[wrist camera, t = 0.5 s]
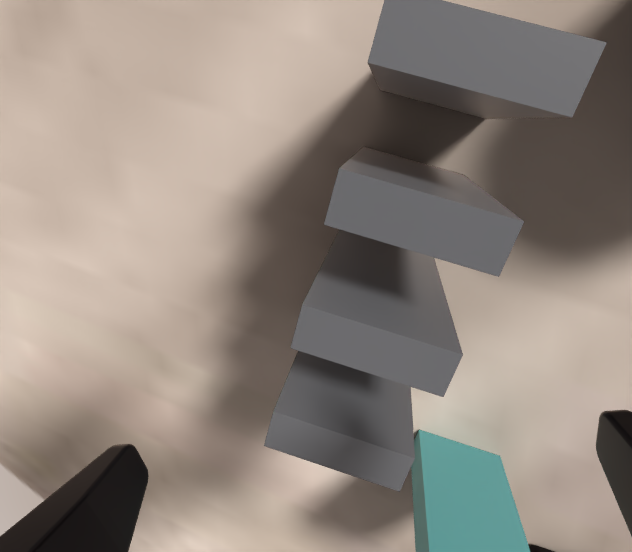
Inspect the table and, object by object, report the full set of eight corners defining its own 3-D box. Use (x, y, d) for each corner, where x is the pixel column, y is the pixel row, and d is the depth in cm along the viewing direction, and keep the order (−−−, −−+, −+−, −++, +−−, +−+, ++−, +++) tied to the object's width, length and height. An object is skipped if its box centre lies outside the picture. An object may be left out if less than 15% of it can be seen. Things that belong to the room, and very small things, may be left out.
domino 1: (485, 118, 19) (572, 117, 10) (380, 89, 19) (367, 62, 10) (500, 81, 18) (606, 42, 9) (390, 52, 19) (388, -14, 10)
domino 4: (397, 347, 24) (399, 491, 15) (313, 321, 24) (263, 445, 15) (406, 323, 23) (415, 458, 14) (320, 297, 24) (273, 411, 14)
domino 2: (451, 206, 21) (498, 276, 11) (354, 178, 21) (323, 224, 12) (464, 174, 20) (524, 221, 11) (363, 146, 20) (338, 168, 11)
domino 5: (489, 475, 26) (542, 673, 17) (410, 448, 26) (419, 629, 17) (499, 455, 25) (561, 650, 16) (419, 429, 25) (433, 605, 16)
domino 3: (422, 282, 22) (443, 397, 13) (332, 255, 23) (290, 348, 13) (433, 254, 22) (462, 354, 12) (340, 227, 22) (302, 304, 13)
